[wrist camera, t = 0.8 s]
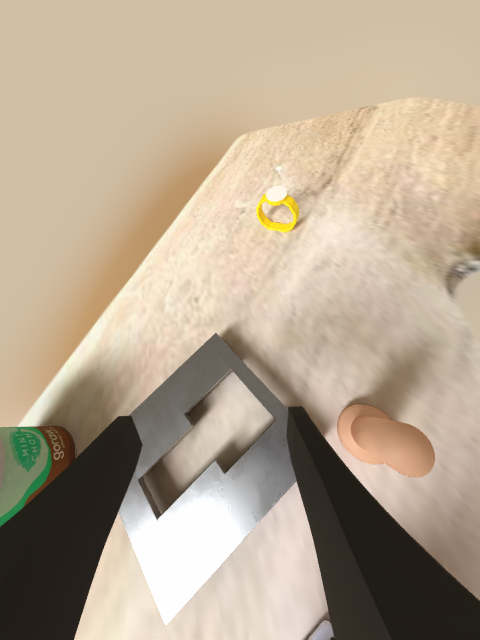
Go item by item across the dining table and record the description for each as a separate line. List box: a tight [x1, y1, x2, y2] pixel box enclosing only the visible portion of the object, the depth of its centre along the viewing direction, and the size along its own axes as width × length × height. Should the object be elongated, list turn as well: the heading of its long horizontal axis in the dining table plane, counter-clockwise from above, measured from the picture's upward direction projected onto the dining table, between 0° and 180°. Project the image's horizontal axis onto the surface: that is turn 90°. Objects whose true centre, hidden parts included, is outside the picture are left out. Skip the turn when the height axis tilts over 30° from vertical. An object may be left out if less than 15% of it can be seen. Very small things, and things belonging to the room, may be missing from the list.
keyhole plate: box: [118, 333, 297, 625], centre depth 22 cm, size 16×19×2 cm
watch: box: [256, 186, 299, 233], centre depth 29 cm, size 6×3×6 cm, turn 65°
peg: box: [337, 404, 435, 477], centre depth 17 cm, size 5×5×8 cm
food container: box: [0, 426, 75, 527], centre depth 22 cm, size 12×6×10 cm, turn 57°
